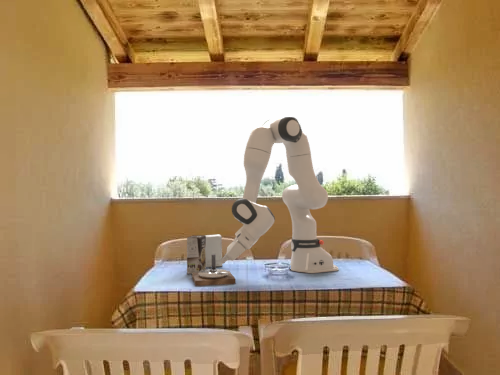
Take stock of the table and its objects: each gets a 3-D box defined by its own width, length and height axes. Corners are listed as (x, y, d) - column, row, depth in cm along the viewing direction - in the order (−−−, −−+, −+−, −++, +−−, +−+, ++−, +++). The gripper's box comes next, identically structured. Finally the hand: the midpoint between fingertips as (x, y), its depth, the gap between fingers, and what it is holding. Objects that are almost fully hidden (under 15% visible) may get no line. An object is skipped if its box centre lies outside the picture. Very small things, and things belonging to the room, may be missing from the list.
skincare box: (220, 264, 220) (220, 234, 220) (222, 266, 214) (222, 235, 214) (203, 265, 218) (203, 234, 218) (205, 267, 212) (204, 236, 212)
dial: (227, 278, 179) (227, 258, 179) (197, 278, 179) (197, 258, 179) (228, 272, 191) (227, 253, 191) (199, 272, 191) (199, 253, 191)
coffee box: (200, 274, 197) (200, 237, 197) (186, 273, 199) (186, 237, 198) (206, 270, 206) (206, 235, 206) (193, 269, 208) (192, 234, 207)
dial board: (229, 275, 195) (229, 270, 195) (235, 283, 180) (235, 278, 180) (192, 277, 191) (192, 272, 191) (195, 285, 177) (195, 280, 176)
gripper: (239, 230, 199) (216, 252, 199) (239, 236, 179) (215, 261, 178) (249, 240, 199) (227, 262, 199) (251, 247, 179) (226, 272, 179)
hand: (221, 262), depth 189 cm, fingers closed
